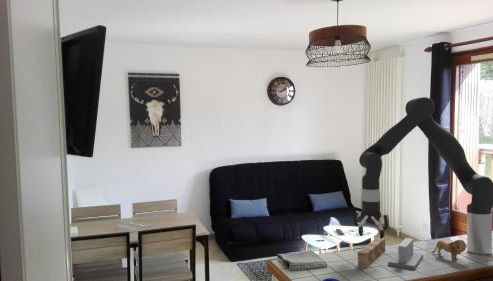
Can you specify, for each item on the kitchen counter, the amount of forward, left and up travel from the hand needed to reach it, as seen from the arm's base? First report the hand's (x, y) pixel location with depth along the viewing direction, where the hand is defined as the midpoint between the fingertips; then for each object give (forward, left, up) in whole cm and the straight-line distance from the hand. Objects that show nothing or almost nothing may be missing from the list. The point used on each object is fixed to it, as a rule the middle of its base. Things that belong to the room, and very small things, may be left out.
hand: (371, 237), depth 167 cm
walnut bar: (0, 0, -10) cm, 10 cm away
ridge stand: (-3, +13, -9) cm, 16 cm away
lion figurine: (-15, +28, -9) cm, 33 cm away
